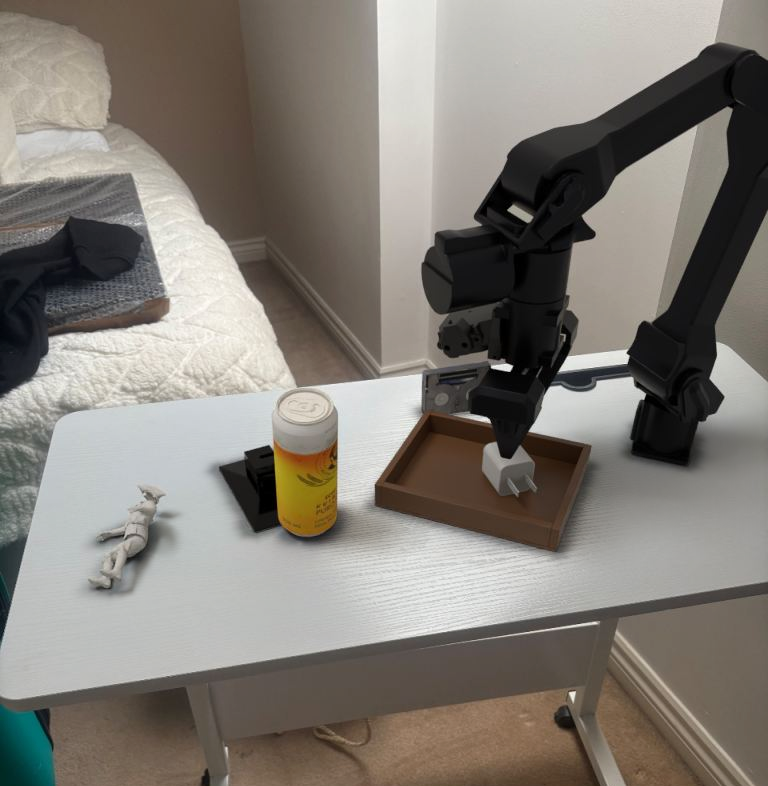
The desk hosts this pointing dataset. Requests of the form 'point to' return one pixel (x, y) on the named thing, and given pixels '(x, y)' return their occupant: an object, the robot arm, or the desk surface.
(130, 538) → the soldier figure
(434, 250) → the robot arm
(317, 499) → the beer can
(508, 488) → the usb wall charger
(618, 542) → the desk surface
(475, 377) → the mini dv tape
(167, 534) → the desk surface
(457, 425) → the tray
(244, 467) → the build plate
